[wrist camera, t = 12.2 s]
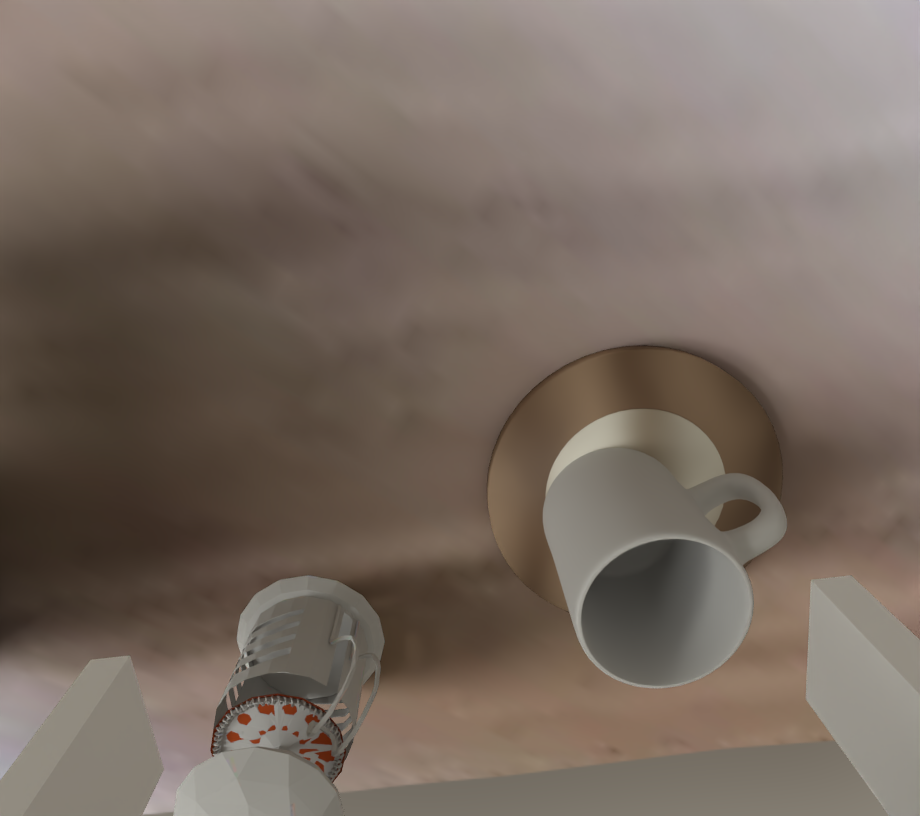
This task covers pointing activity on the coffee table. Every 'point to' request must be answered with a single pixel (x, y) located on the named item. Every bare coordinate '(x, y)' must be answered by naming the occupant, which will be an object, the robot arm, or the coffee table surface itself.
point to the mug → (654, 564)
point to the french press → (289, 703)
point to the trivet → (624, 442)
